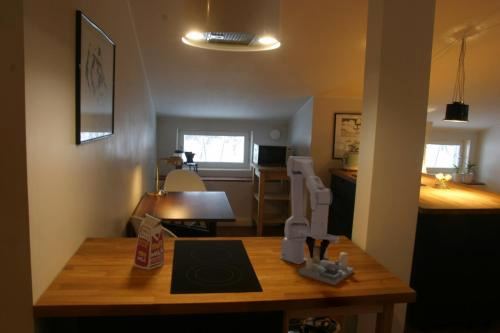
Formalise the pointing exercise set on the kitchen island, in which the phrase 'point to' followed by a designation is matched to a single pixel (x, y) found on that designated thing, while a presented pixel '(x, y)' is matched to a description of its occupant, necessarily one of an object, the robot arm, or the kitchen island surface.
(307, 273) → the board
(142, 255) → the milk carton
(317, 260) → the leg peg
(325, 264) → the bar
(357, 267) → the kitchen island surface
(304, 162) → the robot arm
